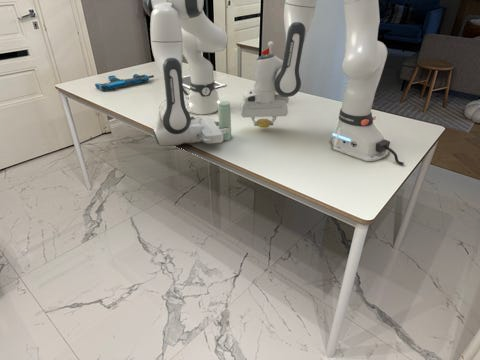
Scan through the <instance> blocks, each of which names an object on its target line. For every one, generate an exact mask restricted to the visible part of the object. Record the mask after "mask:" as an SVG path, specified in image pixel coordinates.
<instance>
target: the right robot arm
mask: <svg viewBox="0 0 480 360" xmlns="http://www.w3.org/2000/svg"><path fill="white" fill-rule="evenodd" d="M342 4H343V15H344V23H345V24H344V25H345V39H344V40H345V41H344V56H343V61H342V65H341V66H342V68H341V69H342V72H343V73H344V75H345V77H347V78H348V81H347V83H346V86H345V87H344V91H343V98H342V103H341V108H340V109H339V113H338V122H337V123H338V124H337V127H336V130H335V132H334V133H332V136H333V137H332V139H331V144H332V149H333V150H334V151H336V152H340V153H343V154H344V155H345V154H346V155H348V156H351V157H354V158H356V159H359V160H361V161H365V162H374V161H379V160H381V159H383V158H385V157H387V155H388V154H389V153H391V154H392V155H393V157H394V161H395V163H397V164H398V165H400V166H404V165H405V162H403V161H400V160H399V157H398V155H397V153H396V152H395V150H393V149H392V148H390V146H391V141H390V140H387V139H385V138H384V135H383V134H382V133H381V131H379V128H377V126H376V125H375V124H374V121H375V120H376V119H377V116H373V113H372V109H373V104H374V100H375V95H376V92H377V89H378V87H379V83H380V81H381V77H382V74H383V71H384V67H385V64H386V61H387V57H388V48H387V46H386V44H384V42H382V41H380V40H378V36H379V27H380V22H381V20H380V17H381V16H380V6H379V5H380V4H379V0H342ZM316 6H317V0H285V1H284V7H283V28H284V32H285V33H284V35H285V47H284V53H283V58H282V59H281V58H279V57H278V56H277V55H276V54H274V53H272V54H265V55H264V54H261V55H259V56H258V57H257V59H256V61H255V64H254V75H253V76H254V86H253V88H252V89H250V90H248V91H245V92H244V93H243V99H242V100H241V104H240V116H241V117H242V118H251V120H252V123H253V127H258V126H257V120H256V118H267V117H268V118H269V117H272V119H271V120H270V126H269V127H272V126H273V127H274V123H275V121H276V120H277V117H286V116H287V115H288V111H289V110H288V103H289V99H290V98H291V97H293V96H295V95H296V94H298V93H299V92H300V89H301V88H302V87H301V86H302V80H301V75H300V65H301V59H302V53H303V48H304V44H305V40H306V37H307V35H308V32H309V30H310V26H311V24H312V21H313V18H314V14H315V11H316ZM275 90H276V92H277V93H278V94H276V95H275Z"/></svg>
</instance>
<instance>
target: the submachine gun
mask: <svg viewBox="0 0 480 360" xmlns="http://www.w3.org/2000/svg"><path fill="white" fill-rule="evenodd" d="M153 78H155V76H154V74H152V75H147V74H142V75H140V74H138V73H134V74H133V75H132V77H130V78H125V79H120V78H118V77H117V76H116V75H108V80H109V81H110V82H105V83H104V82H103V83H97V82H96V83H94V86H95V88H97V89H98V90H100V91H107V90H113V91H114V90H115V89H117V88H122V87H126V86H130V85H136V84H140V83H147V82H148V81H150V79H153Z"/></svg>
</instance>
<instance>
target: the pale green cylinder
mask: <svg viewBox="0 0 480 360" xmlns="http://www.w3.org/2000/svg"><path fill="white" fill-rule="evenodd" d="M230 103H231V102H229V101H228V100H221V101H220V102H219V106H218V110H217V111H218V112H217V113H218V121H219V126H218V128H219V129H224V128H225V127H229V128H230V132H227V133H225V134H223V141H229V140H231V139H232V111H231V104H230Z"/></svg>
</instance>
